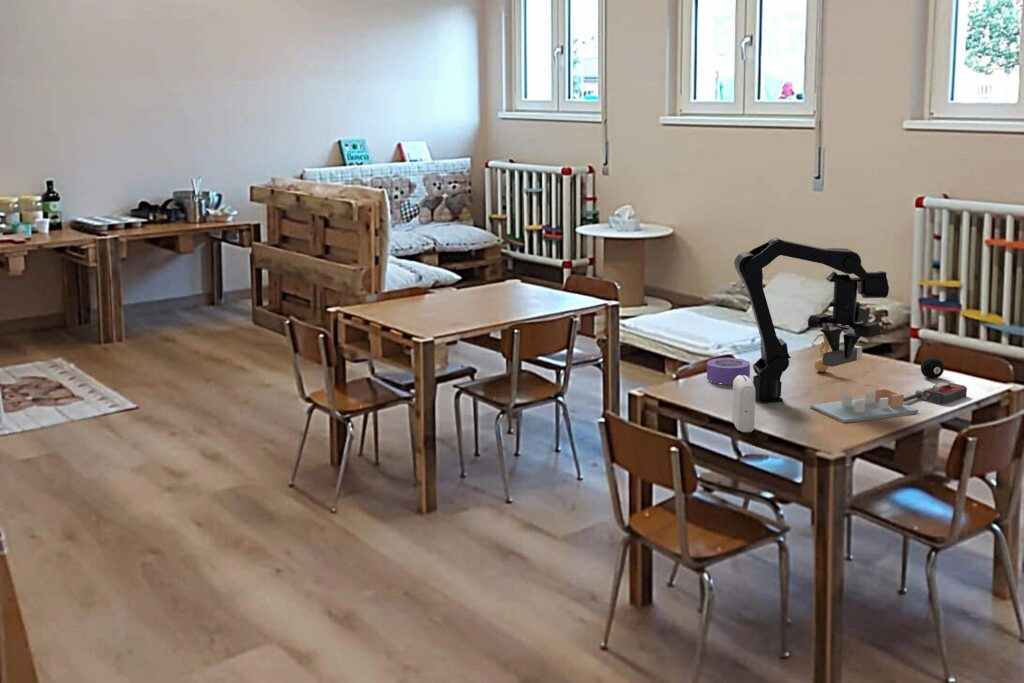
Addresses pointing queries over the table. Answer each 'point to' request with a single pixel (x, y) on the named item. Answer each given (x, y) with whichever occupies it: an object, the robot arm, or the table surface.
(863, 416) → the board
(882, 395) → the end holder
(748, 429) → the photo printer
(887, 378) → the table surface
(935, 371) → the billiard ball
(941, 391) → the walkie-talkie
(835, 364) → the rod
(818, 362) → the figurine
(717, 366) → the tape roll
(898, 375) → the table surface
